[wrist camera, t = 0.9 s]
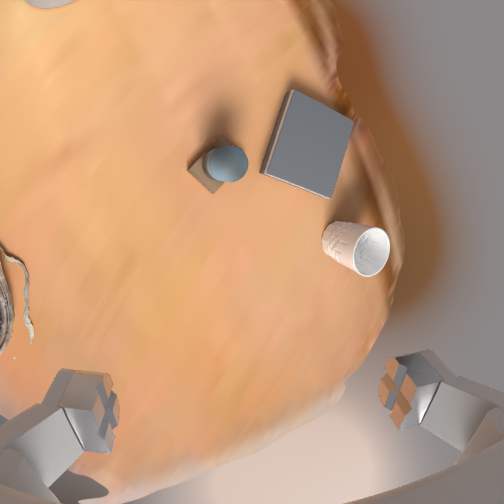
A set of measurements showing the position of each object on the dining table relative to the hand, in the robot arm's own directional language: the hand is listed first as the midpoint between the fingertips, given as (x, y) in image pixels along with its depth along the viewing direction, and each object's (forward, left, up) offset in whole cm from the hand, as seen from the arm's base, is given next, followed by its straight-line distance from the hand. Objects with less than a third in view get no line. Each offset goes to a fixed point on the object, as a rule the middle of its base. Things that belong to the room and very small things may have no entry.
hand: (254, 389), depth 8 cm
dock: (-17, +20, -40) cm, 48 cm away
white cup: (-4, +32, -40) cm, 52 cm away
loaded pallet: (-9, +7, -40) cm, 42 cm away
